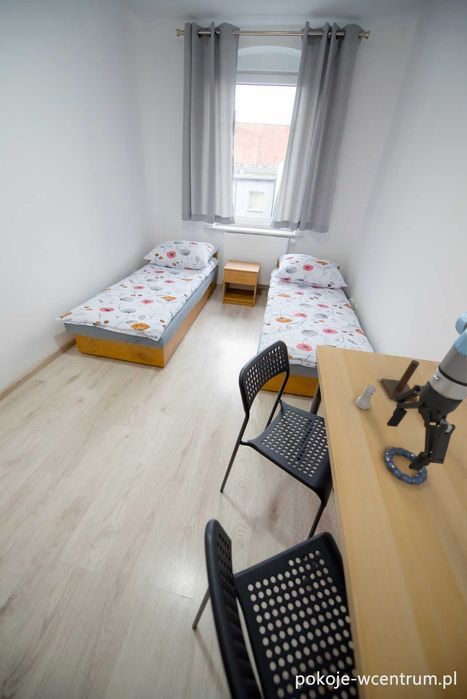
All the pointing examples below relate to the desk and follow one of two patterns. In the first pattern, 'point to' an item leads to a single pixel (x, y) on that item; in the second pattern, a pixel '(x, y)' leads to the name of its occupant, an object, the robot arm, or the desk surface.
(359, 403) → the rook chess piece
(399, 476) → the ring
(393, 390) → the stand
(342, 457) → the desk surface
